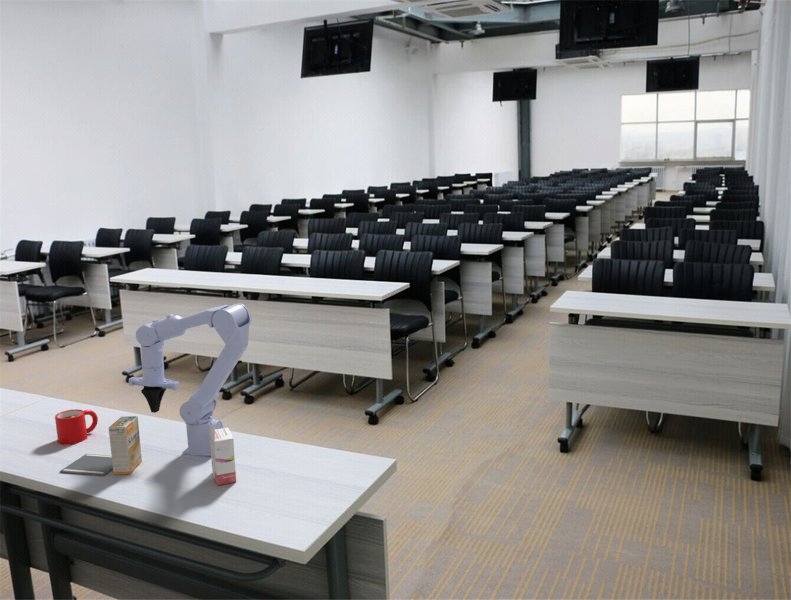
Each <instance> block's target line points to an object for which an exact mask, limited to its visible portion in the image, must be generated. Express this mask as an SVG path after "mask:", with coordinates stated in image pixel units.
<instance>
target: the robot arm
mask: <svg viewBox="0 0 791 600" xmlns="http://www.w3.org/2000/svg"><path fill="white" fill-rule="evenodd" d="M251 322H252V318H251V314H250V312H249V309H248V307H246V305H244V304H243V303H241V302H236V303H235V302H234V303H233V304H231V305H230V304H223V305H219V306H216V307H212V308H208V309H205V310H202V311H199V312H196V313H194V314H191V315H188V316H184V317H182V316H181V315H178V314H174V313H172V314H169V315H166V317H165V318H162V319H158V318H157V319H154V320H152V322H150V323H146V324H142V325H141V326H140V327H139V328H137V330H136V332H135V338H136V341H137V342H138V343H139V344H140V355H141V369H142V376H132V377H130V378H128V386H139V387H142V389H141V391H140V392H141V394H142V395H143V396H144V397H145V399H146V401H147V404H148V407H149V409H150V412H151V413H154V414H155V413H158V412H159V411H160V408H161V403H162V399H163V398H164V397H163V396H164V394H165V393H166V390H167V389H168V390H172V391H177V390H179V389H180V381H175V380H172V379H170V378H169V379H168V378H166V377H165V363H164V341H168V340H170V339H175V338H177V337H181V336H183V335H185V333H186V331H187V329H191V328H195V327H200V326H203V325H206V324H207V325H208V326H209V327H210V328H211V329H212V328H214V329H215V331H216V332H217V334H218V336H219V337H220V338H221V340H222V341H223V343H224V344H225V346H224V347H223V349H222V350H221V352H220V353H219V355H218V357H217V359H216V360H215V362H214V363H213V365H212V367H211V368H210V370H209V371H208V373H206V374H207V375H206V376H205V378H203V379H204V380H203V381H202V383H201V384H200V386H199V388H197V390H196V391H194V393H192V395H191V396H190V397H189V399H188V400H187V401H185V402H183V403H182V404H181V405H180V406H179V407H180V408H179V415H180V418H181V419H182V420H183V421H184V423H185V427H186V438H187V448H186V449H184V450H183V451H182V452H181V453H182V455H190V456H191V455H192V456H205V457H211V445H210V420H211V422H212V424H213V427H214V429H215V430H216V429H222V428H224V424H223V422H222V420H219V419H215V418H214V417H213V416H214V413H213V412H214V411H215V409H216V408H217V400H218V398H220V395H219V392H220V391H221V389H222V387H223V386H224V384H225V382H226V381H227V379H228V378H229V377H230V374H231V373H232V371H233V370H234V368H235V367H236V365H237V364H238V362H239V361H240V359H241V358H242V355H243V354H244V353H245V351H246V350H247V348H248V346H249V334H250V332H249V330H250V325H251Z"/></svg>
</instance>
